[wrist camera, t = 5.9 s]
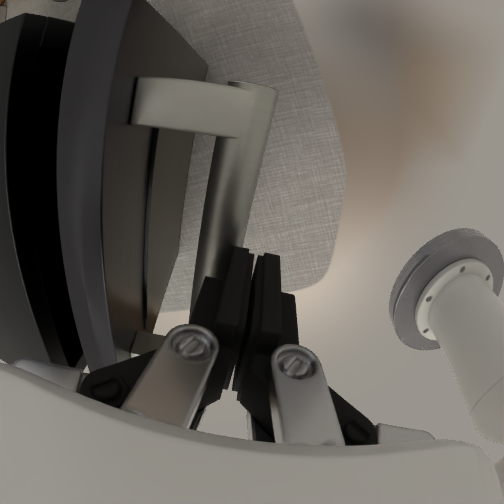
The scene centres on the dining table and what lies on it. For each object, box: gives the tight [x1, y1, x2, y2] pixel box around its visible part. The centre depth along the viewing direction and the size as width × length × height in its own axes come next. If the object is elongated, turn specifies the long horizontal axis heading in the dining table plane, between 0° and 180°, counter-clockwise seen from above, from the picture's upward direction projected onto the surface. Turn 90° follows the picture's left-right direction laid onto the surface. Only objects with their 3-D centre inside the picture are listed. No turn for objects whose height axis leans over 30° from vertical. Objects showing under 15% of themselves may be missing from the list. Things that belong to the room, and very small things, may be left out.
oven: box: [0, 13, 87, 372], centre depth 16 cm, size 18×18×18 cm
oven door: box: [56, 0, 278, 373], centre depth 16 cm, size 6×18×18 cm, turn 168°
